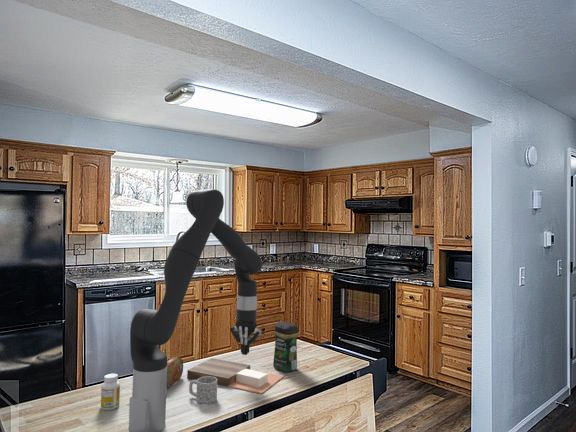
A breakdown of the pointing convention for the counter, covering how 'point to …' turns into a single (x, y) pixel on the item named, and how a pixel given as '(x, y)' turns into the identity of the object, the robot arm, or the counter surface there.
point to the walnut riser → (217, 371)
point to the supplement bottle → (110, 392)
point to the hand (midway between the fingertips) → (245, 354)
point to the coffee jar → (285, 346)
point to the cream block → (252, 377)
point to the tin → (174, 370)
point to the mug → (205, 390)
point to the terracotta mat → (271, 381)
